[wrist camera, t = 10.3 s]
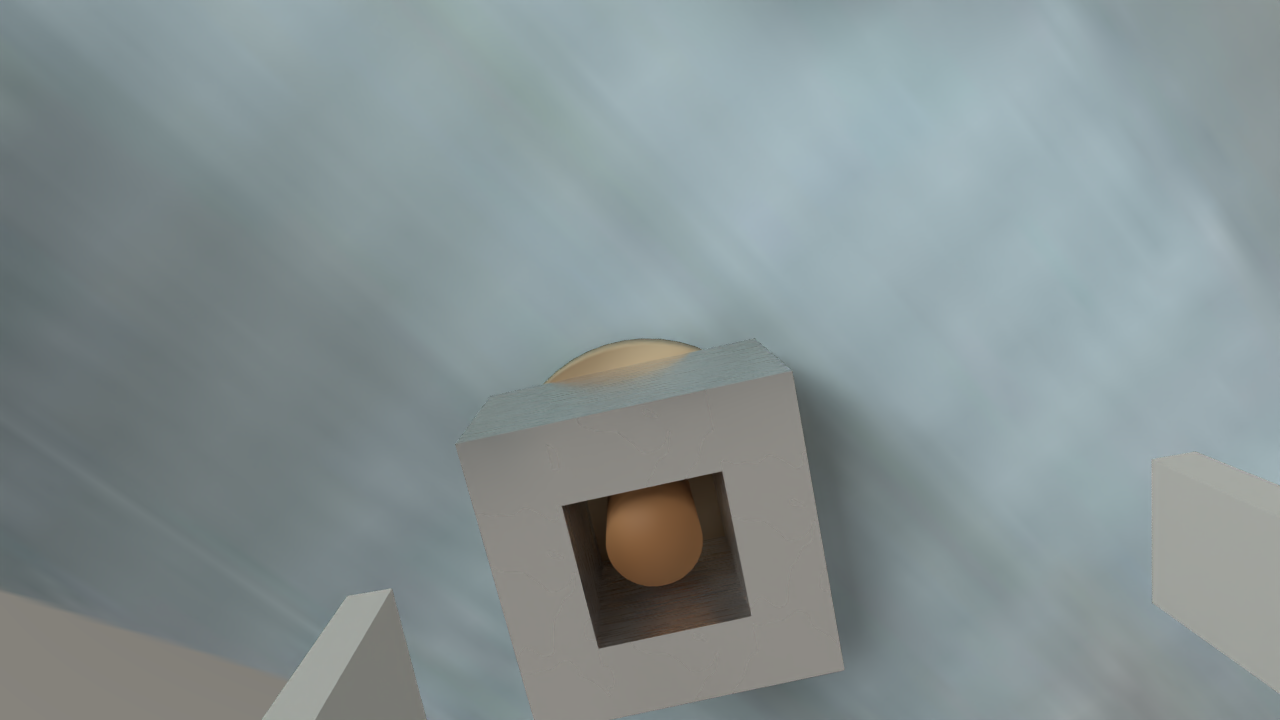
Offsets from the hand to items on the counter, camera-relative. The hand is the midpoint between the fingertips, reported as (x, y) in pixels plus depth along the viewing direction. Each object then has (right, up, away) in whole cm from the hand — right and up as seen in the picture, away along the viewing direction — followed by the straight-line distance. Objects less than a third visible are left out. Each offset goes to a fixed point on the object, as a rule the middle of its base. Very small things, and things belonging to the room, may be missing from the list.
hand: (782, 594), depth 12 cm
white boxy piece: (-2, 0, +12) cm, 12 cm away
